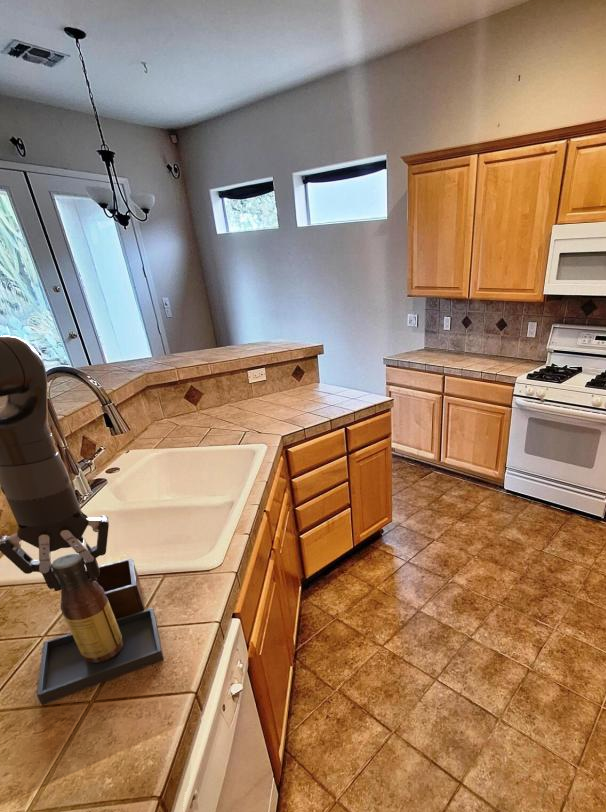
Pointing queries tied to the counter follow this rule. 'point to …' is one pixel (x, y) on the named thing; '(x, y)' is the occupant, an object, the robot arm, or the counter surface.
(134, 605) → the caddy
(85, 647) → the sauce bottle
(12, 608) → the counter surface
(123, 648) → the tray
